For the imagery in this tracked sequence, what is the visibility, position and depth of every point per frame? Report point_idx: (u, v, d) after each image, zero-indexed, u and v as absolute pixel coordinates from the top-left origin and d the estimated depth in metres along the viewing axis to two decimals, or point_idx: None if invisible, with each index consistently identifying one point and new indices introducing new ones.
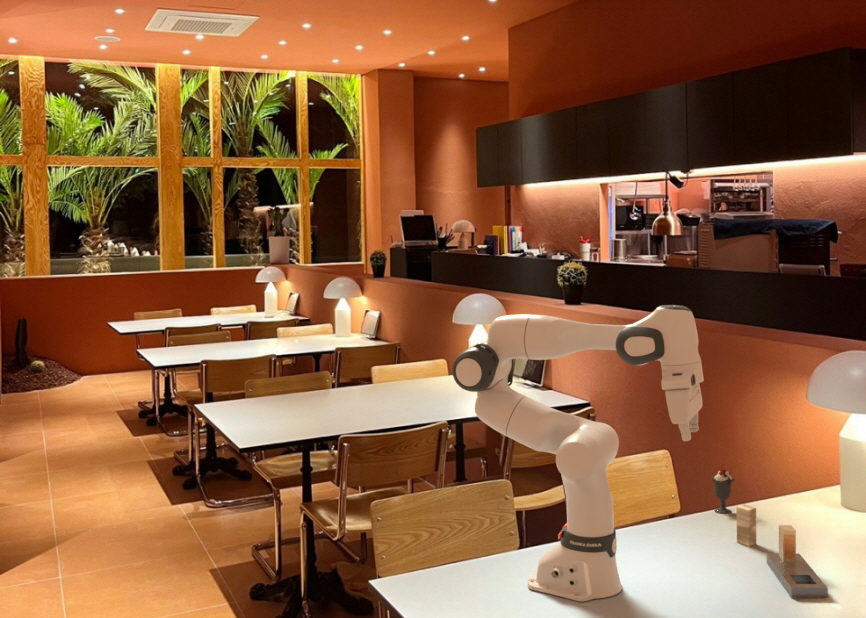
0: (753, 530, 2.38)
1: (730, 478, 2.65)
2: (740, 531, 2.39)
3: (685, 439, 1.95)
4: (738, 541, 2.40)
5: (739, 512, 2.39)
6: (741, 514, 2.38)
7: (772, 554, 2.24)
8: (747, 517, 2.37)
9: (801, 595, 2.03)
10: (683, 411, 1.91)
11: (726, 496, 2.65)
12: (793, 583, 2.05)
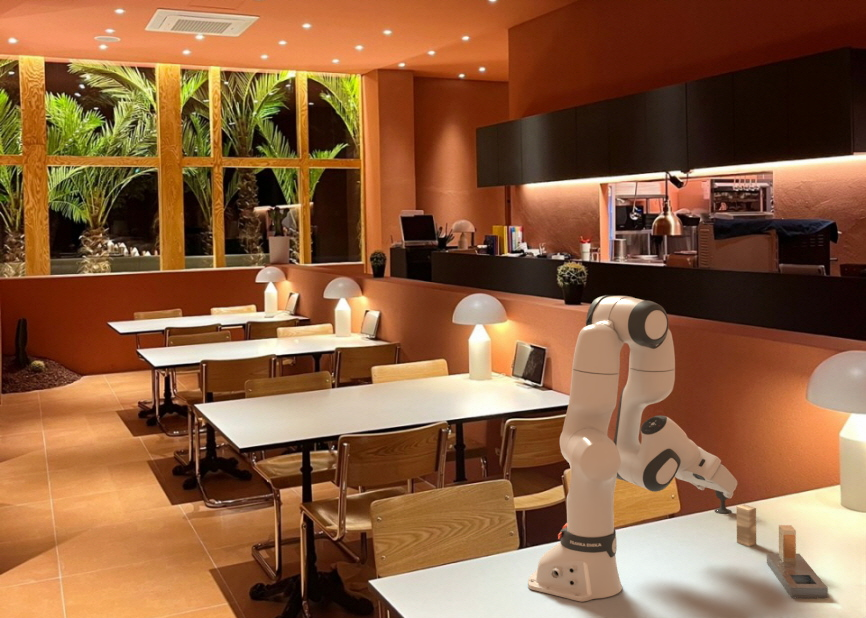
0: (753, 530, 2.38)
1: None
2: (740, 531, 2.39)
3: (731, 496, 2.27)
4: (738, 541, 2.40)
5: (739, 512, 2.39)
6: (741, 514, 2.38)
7: (772, 554, 2.24)
8: (747, 517, 2.37)
9: (801, 595, 2.03)
10: (733, 479, 2.20)
11: None
12: (793, 583, 2.05)
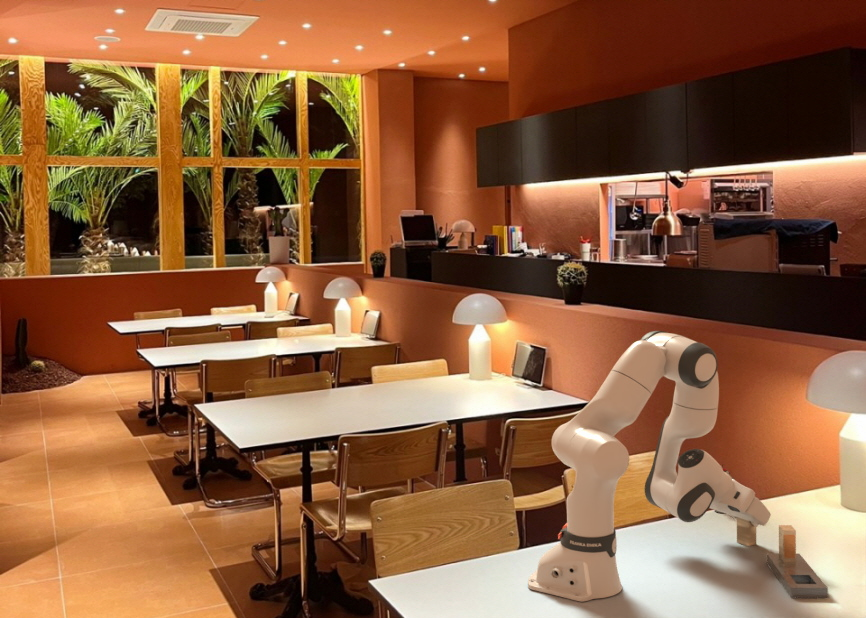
0: (753, 530, 2.38)
1: None
2: (740, 531, 2.39)
3: (757, 524, 2.36)
4: (738, 541, 2.40)
5: None
6: None
7: (772, 554, 2.24)
8: None
9: (801, 595, 2.03)
10: (766, 511, 2.28)
11: None
12: (793, 583, 2.05)
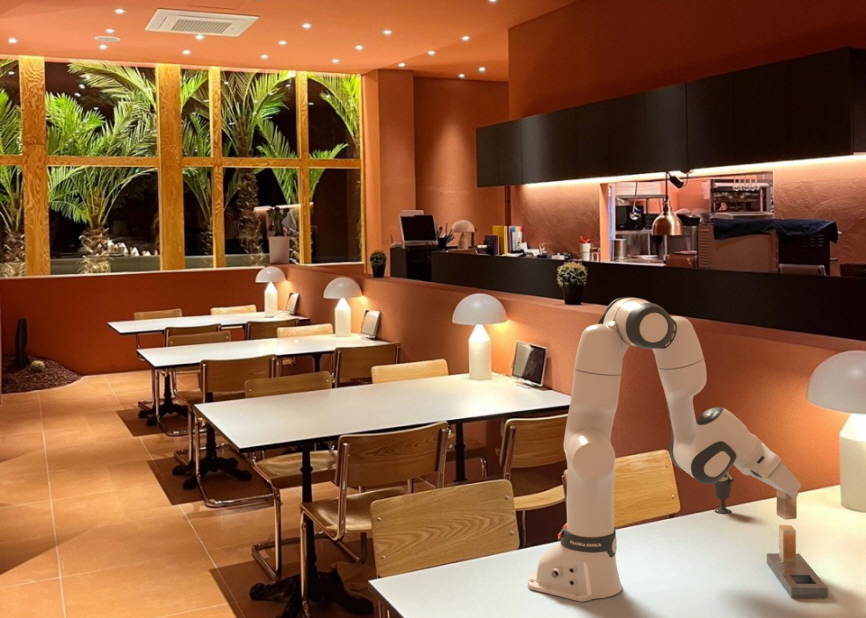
0: (792, 502, 2.18)
1: (730, 478, 2.65)
2: (779, 502, 2.20)
3: (795, 496, 2.16)
4: (778, 513, 2.21)
5: None
6: None
7: (772, 554, 2.24)
8: None
9: (801, 595, 2.03)
10: (794, 480, 2.09)
11: (726, 496, 2.65)
12: (793, 583, 2.05)
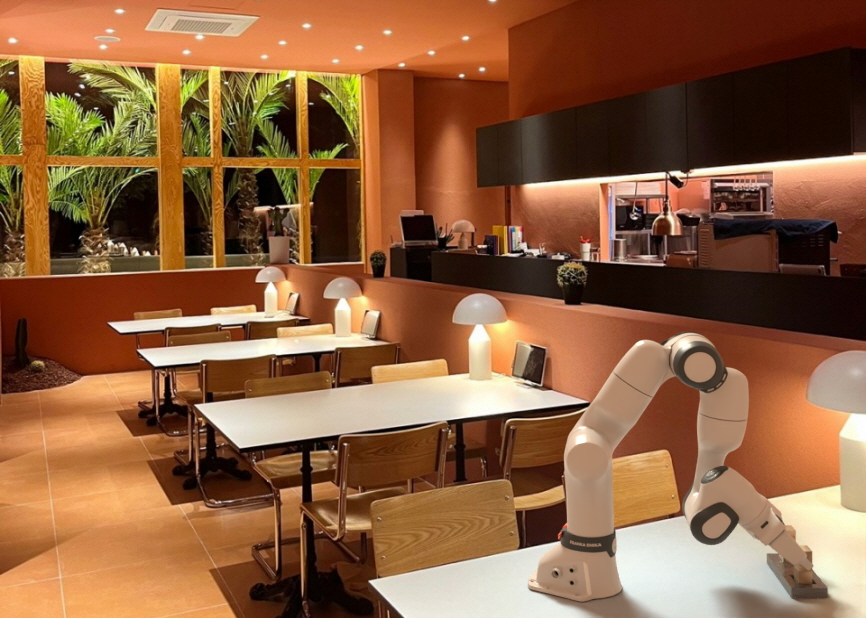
0: (807, 576, 2.05)
1: None
2: (795, 574, 2.08)
3: (809, 567, 2.03)
4: None
5: None
6: None
7: (772, 554, 2.24)
8: None
9: (801, 595, 2.03)
10: (798, 550, 1.97)
11: None
12: (793, 583, 2.05)
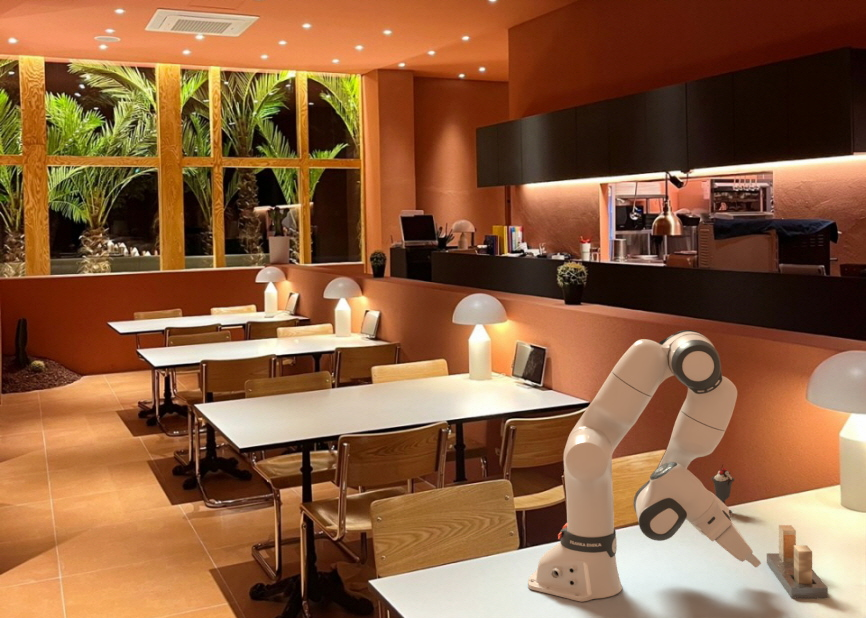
0: (807, 576, 2.05)
1: (730, 478, 2.65)
2: (795, 574, 2.08)
3: (757, 564, 2.03)
4: None
5: (795, 552, 2.08)
6: (795, 555, 2.08)
7: (772, 554, 2.24)
8: (798, 559, 2.06)
9: (801, 595, 2.03)
10: (743, 546, 1.99)
11: (726, 496, 2.65)
12: (793, 583, 2.05)
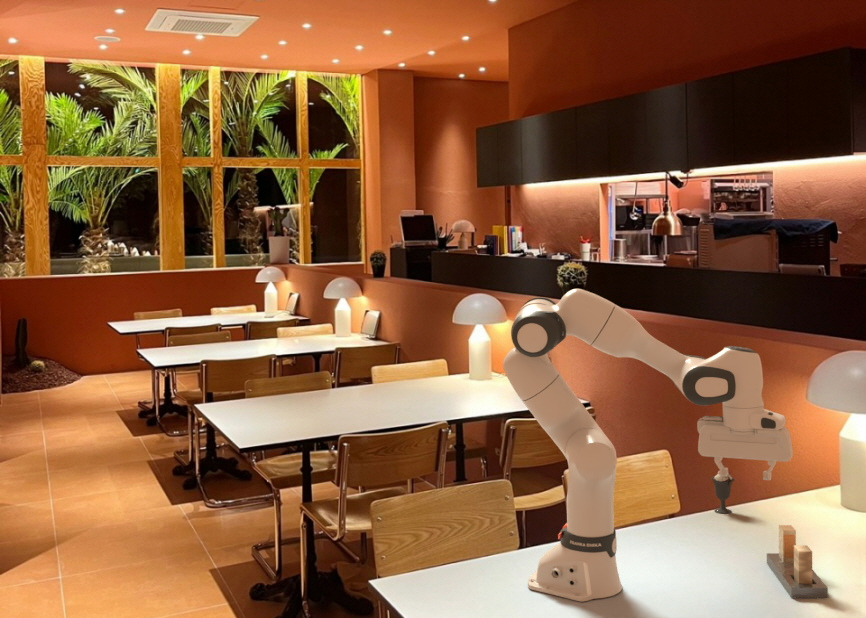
0: (807, 576, 2.05)
1: (730, 478, 2.65)
2: (795, 574, 2.08)
3: (770, 478, 1.98)
4: None
5: (795, 552, 2.08)
6: (795, 555, 2.08)
7: (772, 554, 2.24)
8: (798, 559, 2.06)
9: (801, 595, 2.03)
10: (791, 447, 1.97)
11: (726, 496, 2.65)
12: (793, 583, 2.05)
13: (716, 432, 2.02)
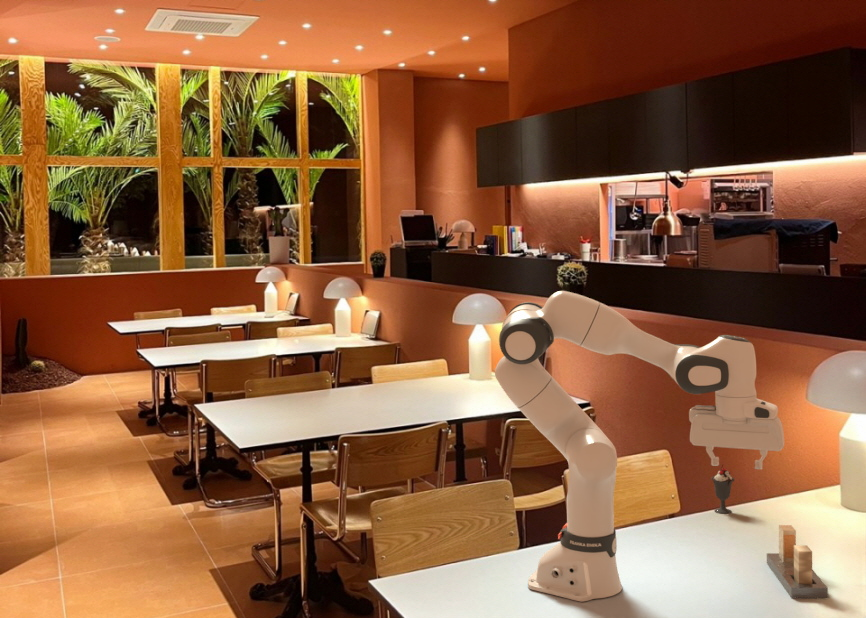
0: (807, 576, 2.05)
1: (730, 478, 2.65)
2: (795, 574, 2.08)
3: (761, 467, 1.98)
4: None
5: (795, 552, 2.08)
6: (795, 555, 2.08)
7: (772, 554, 2.24)
8: (798, 559, 2.06)
9: (801, 595, 2.03)
10: (783, 436, 1.97)
11: (726, 496, 2.65)
12: (793, 583, 2.05)
13: (708, 421, 2.01)
